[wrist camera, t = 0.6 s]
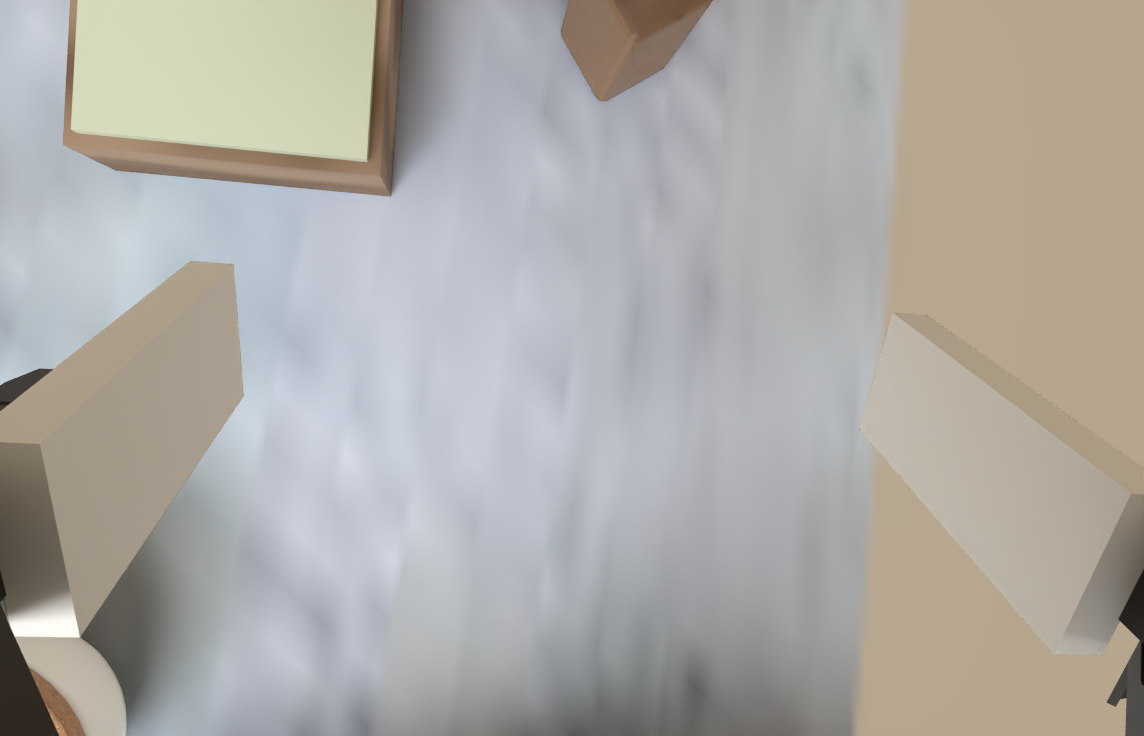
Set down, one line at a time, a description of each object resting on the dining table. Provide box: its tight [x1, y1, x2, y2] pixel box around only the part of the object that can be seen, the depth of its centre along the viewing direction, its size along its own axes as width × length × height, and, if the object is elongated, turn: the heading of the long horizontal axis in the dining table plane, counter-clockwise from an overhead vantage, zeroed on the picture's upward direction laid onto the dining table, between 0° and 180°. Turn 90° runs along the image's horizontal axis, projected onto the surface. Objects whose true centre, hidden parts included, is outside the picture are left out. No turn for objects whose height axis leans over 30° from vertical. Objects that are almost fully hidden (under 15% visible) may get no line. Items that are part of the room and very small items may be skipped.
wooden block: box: [561, 0, 713, 101], centre depth 33 cm, size 4×4×8 cm
